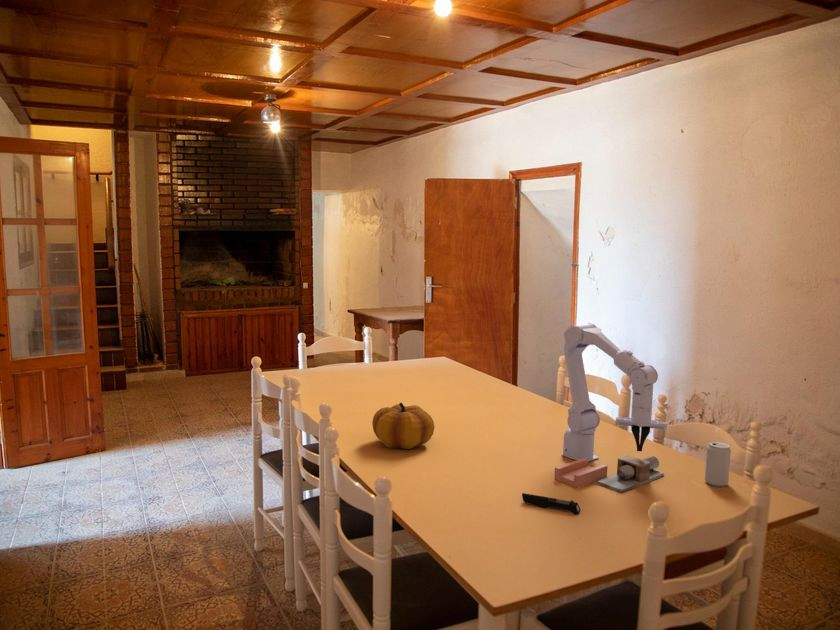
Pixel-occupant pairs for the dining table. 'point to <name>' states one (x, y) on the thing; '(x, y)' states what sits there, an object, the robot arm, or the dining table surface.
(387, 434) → the decorative pumpkin
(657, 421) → the robot arm
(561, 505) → the electric trimmer
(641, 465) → the arched stand
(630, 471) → the axle
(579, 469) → the cradle
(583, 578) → the dining table surface
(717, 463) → the beverage can
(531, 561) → the dining table surface
